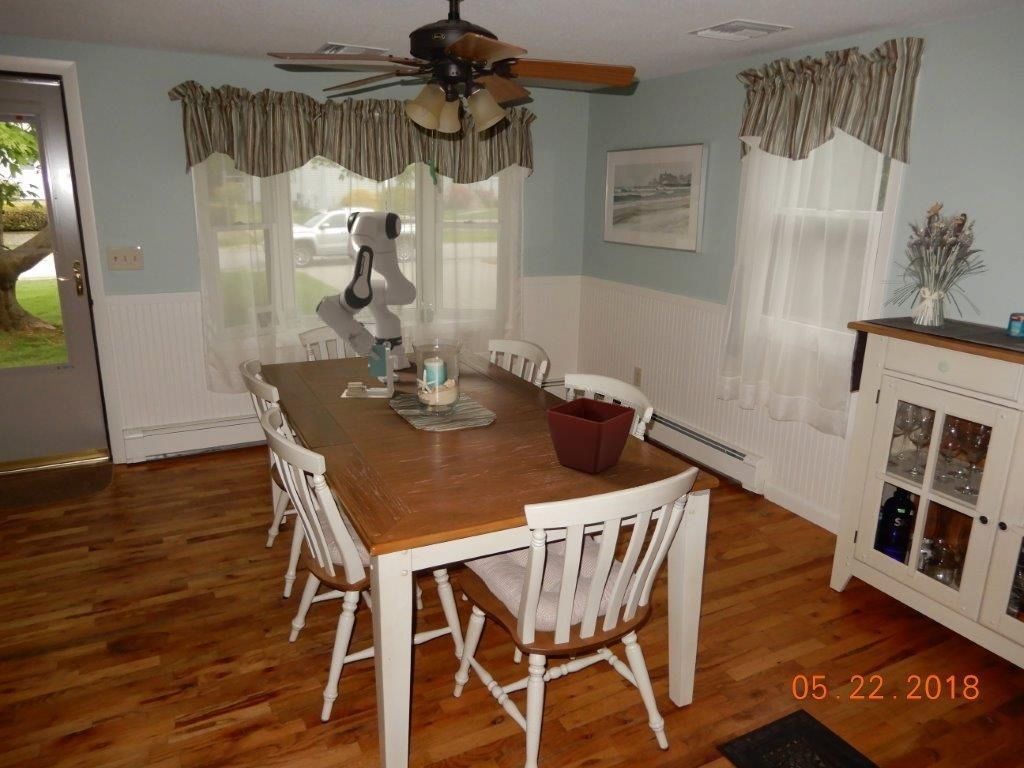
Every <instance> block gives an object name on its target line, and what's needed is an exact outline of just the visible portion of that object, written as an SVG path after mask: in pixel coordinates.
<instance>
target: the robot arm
mask: <svg viewBox="0 0 1024 768" xmlns="http://www.w3.org/2000/svg"><path fill="white" fill-rule="evenodd" d="M401 220H402V219H401V218H400V216H399V215H398V214H397V213H394V212H385V211H375V210H373V211H364V212H363V211H362V212H360V211H356V212H352V213H351V214H349V216H348V218H347V223H346V225H347V226H346V228H347V232H348V234H349V236H348V241H347V248H346V249H347V253H346V254H347V256H348V257H349V259H351V260H352V261H353V262H355V263H354V270H353V274H352V276H353V277H352V280H351V281H349V283H348V285H347V286H346V287H345V289H343V291H342V292H339V293H337V294H333V295H324V296H323V298H321V300H320V301H319V303H318V304H317V306H316V308H315V313H316V314H317V316H318V317H319V318H320V320H321V321H322V322H323V323H324V324H325V325H326V326H327V327H328V328H330V329H331V330H333V331H334V332H335V334H336V335H337V336H338V337H339V338H340V339H341V340H342V341H344V343H346V344H347V345H348V344H349V346H350V347H351V349H352V350H353V352H355V353H356V354H357V355H358V356H359V357H360V358H362V359H364V358H365V357H366V356H371V357H373V358H374V359H375V360H376V361H377V360H379V358H380V356H379V355H378V354H376V353H375V352H374V351H373V350H372V347H373V346H372V345H386V348H389V349H390V356H397V357H398V369H395V368H394V363H393V371H398V370H403V369H408V368H411V364H410V361H409V359H408V357H407V355H406V348H405V347H404V346H403V345H402V344H403V336H402V331H401V318H400V317H399V316H398V315H397V314H395V313H393V312H392V311H390V310H389V308H388V306H401V307H402V306H408V305H412V304H413V303H414V302H415V300H416V299H417V288H416V286H415V285H414V283H413V282H412V281H410V280H409V279H408V278H407V277H406V276H405V275H404V273H403V272H402V271H401V269H400V268H401V267H400V266H399V261H398V254H397V252H398V251H397V243H396V239H397V238H399V236H400V234H401V232H402V221H401ZM372 270H374V271H375V273H378V274H380V275H381V276H383V277H384V279H371V278H372V272H373V271H372ZM366 307H367V308H368V309H369V311H370V313H371V315H372V317H373V320H374V329H375V330H374V331H375V336H373V334H372V333H371V332H370V331H369V330H368V329H367V328H366V327H365V324H364V323H362V322H360V321H358V320H357V319H355V317H354V316H356V315H358V314H359V313H360V312H362V310H364V308H366ZM367 368H370V363H368V364H367Z"/></svg>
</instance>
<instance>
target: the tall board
mask: <svg viewBox="0 0 1024 768" xmlns="http://www.w3.org/2000/svg"><path fill="white" fill-rule="evenodd" d="M372 346H373V347H372V350H373V351H374V352H375V353H376V354H378V355H379V356H380V358H379V360H377V361H376V360H375V359H374V358H373V357H371V356H369V355H368V356H369V357H368V358H369V359H368V360H369V364H370V367H369V377H374V378H376V377H386V376H387V372H386V345H375V344H374V345H372Z"/></svg>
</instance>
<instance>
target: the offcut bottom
mask: <svg viewBox="0 0 1024 768" xmlns="http://www.w3.org/2000/svg"><path fill="white" fill-rule="evenodd" d="M367 389H368V388H367V385H362V391H351V392H348V388H347V390H346V389H345V390H346V396H364V394H365V392H366V391H367Z"/></svg>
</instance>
